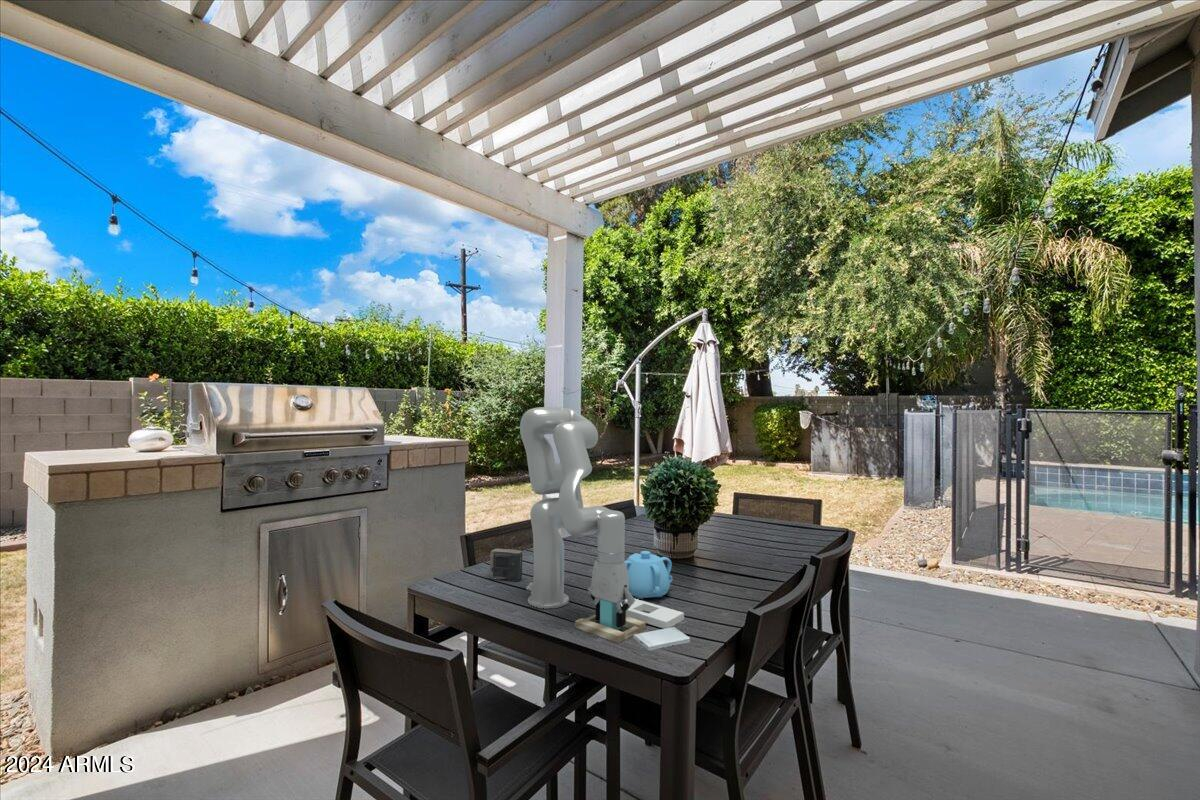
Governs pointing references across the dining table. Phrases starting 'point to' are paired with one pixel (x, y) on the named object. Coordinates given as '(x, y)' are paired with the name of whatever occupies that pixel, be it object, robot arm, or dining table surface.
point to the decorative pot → (648, 575)
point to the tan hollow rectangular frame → (609, 633)
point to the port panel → (654, 614)
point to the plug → (608, 614)
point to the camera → (506, 564)
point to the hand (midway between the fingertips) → (610, 622)
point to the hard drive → (661, 638)
